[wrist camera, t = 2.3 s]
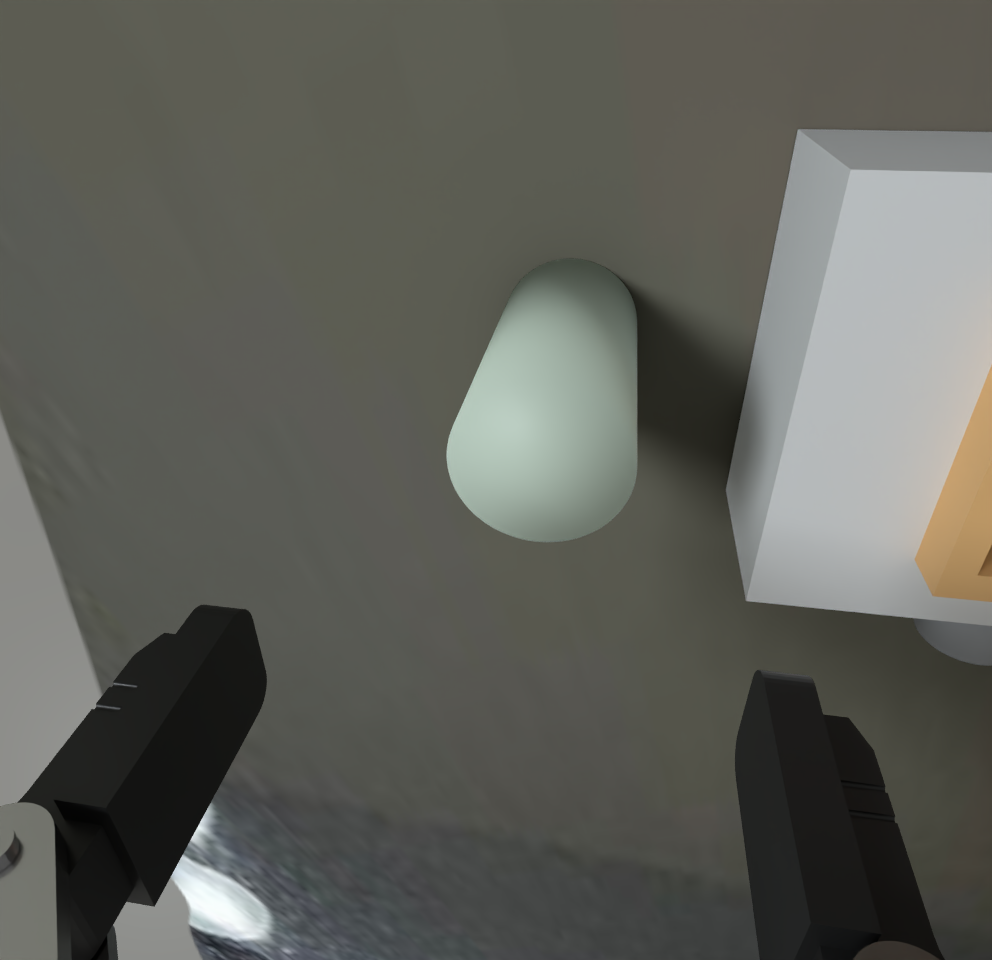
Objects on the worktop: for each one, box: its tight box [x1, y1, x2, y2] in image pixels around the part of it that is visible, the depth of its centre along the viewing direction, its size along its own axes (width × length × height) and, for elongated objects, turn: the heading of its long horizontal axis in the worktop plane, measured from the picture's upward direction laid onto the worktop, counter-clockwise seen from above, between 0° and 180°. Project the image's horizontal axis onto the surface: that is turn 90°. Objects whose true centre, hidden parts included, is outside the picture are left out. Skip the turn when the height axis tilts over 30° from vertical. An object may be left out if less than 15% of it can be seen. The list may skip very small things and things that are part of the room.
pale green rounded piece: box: [447, 258, 637, 542], centre depth 20 cm, size 4×4×9 cm
